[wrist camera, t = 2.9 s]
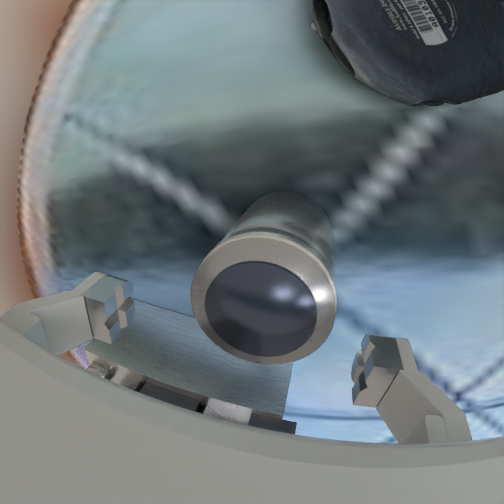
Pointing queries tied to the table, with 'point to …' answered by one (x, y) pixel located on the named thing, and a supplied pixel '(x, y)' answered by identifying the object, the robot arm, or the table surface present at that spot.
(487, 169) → the table surface
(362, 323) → the table surface
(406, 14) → the electronic device
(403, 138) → the table surface
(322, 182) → the table surface
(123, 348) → the camera body
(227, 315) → the lens
